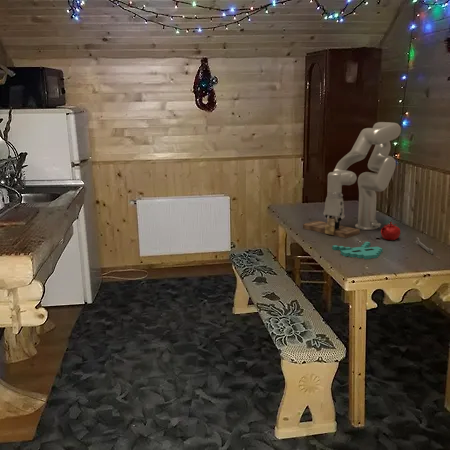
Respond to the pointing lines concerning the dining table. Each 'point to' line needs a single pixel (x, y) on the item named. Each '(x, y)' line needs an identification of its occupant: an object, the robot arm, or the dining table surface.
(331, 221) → the tan cardboard box
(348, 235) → the walnut board
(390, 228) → the pomegranate
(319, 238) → the dining table surface
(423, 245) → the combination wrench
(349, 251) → the alien figure
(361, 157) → the robot arm
